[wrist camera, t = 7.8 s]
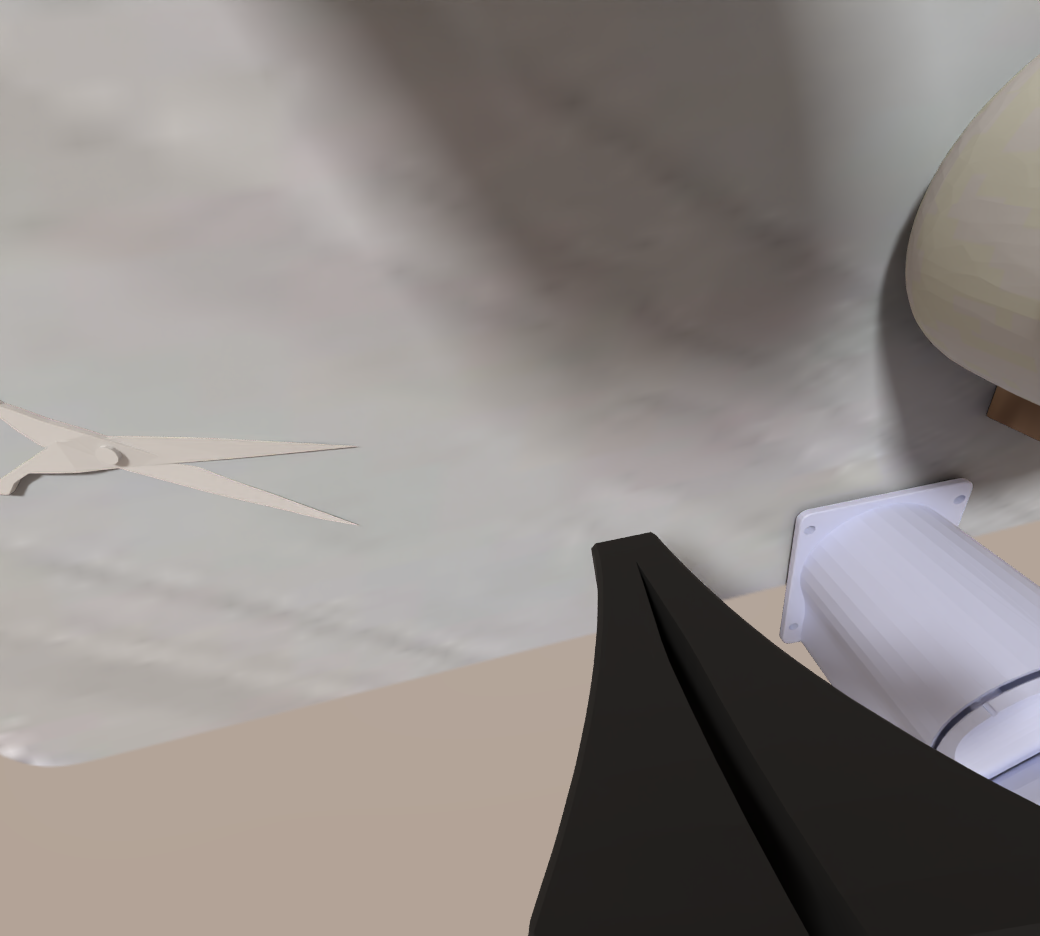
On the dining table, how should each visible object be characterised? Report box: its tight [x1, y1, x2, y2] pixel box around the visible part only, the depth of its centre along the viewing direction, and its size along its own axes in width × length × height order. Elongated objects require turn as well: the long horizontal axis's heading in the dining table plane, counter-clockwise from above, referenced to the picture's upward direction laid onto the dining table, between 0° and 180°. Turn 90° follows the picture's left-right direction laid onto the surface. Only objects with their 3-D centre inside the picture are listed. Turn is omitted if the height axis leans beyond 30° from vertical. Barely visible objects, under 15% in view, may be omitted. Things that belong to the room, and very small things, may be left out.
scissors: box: [0, 400, 360, 526], centre depth 18 cm, size 11×1×20 cm
